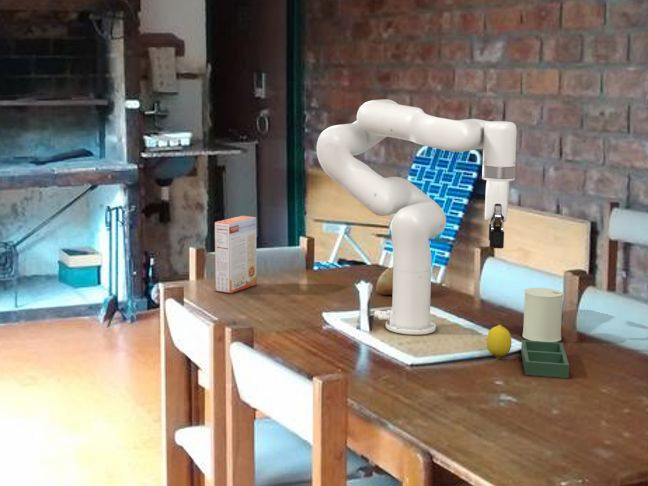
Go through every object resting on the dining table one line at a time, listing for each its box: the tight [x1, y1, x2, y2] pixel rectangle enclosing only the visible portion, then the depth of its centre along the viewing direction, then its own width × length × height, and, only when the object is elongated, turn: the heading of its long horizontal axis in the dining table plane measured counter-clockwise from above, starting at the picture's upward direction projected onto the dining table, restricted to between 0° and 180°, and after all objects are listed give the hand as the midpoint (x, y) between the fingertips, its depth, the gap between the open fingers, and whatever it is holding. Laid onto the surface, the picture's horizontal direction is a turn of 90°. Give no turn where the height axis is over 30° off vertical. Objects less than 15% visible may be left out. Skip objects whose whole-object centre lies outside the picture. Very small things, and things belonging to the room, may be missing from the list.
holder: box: [520, 339, 570, 379], centre depth 228 cm, size 9×17×3 cm, turn 167°
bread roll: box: [375, 266, 393, 296], centre depth 295 cm, size 10×15×8 cm, turn 113°
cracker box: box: [214, 215, 258, 294], centre depth 300 cm, size 14×6×21 cm, turn 144°
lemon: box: [485, 324, 512, 360], centre depth 232 cm, size 6×6×8 cm
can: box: [522, 287, 564, 343], centre depth 250 cm, size 9×9×12 cm
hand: (495, 244), depth 242 cm, fingers open, 9 cm apart
